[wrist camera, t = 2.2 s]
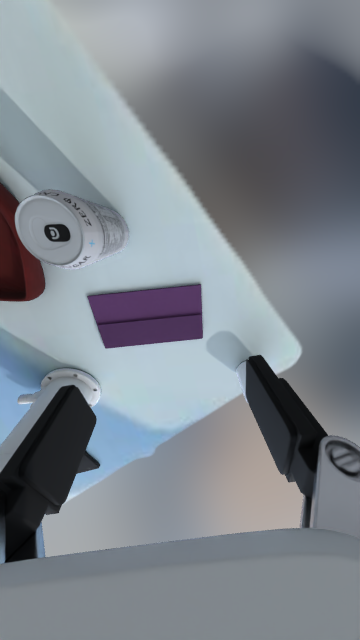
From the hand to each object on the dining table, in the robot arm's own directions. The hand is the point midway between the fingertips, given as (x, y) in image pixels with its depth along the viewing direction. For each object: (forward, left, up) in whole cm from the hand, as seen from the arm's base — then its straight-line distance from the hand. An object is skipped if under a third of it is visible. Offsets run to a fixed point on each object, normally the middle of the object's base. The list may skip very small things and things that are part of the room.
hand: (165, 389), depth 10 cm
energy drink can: (-8, +8, -24) cm, 26 cm away
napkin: (-4, -7, -23) cm, 25 cm away
